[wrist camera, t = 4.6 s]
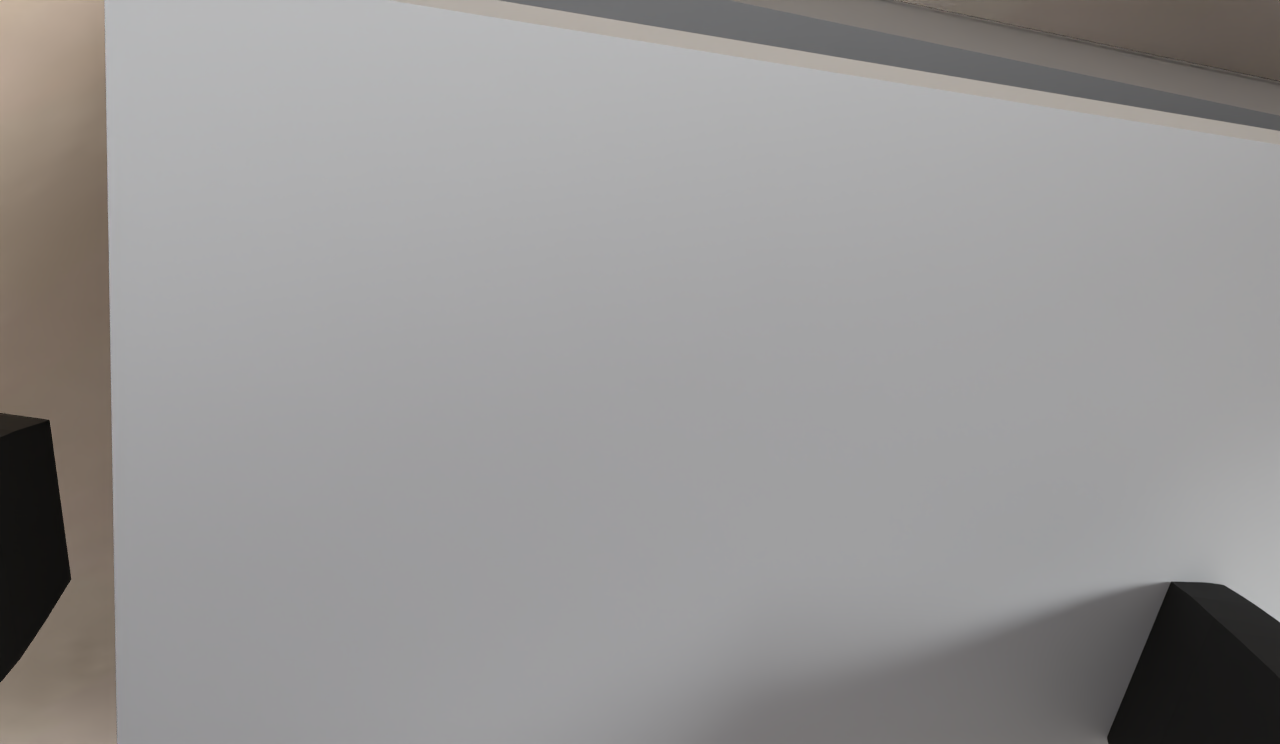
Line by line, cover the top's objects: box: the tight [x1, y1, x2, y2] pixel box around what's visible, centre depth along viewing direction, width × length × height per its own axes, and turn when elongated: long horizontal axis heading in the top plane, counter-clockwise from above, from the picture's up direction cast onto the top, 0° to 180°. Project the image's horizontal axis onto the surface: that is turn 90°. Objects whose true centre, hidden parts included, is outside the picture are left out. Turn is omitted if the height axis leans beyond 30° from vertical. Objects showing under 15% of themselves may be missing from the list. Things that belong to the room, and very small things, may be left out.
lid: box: [104, 0, 1280, 744], centre depth 11 cm, size 14×12×1 cm
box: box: [499, 0, 1280, 131], centre depth 15 cm, size 14×12×5 cm
